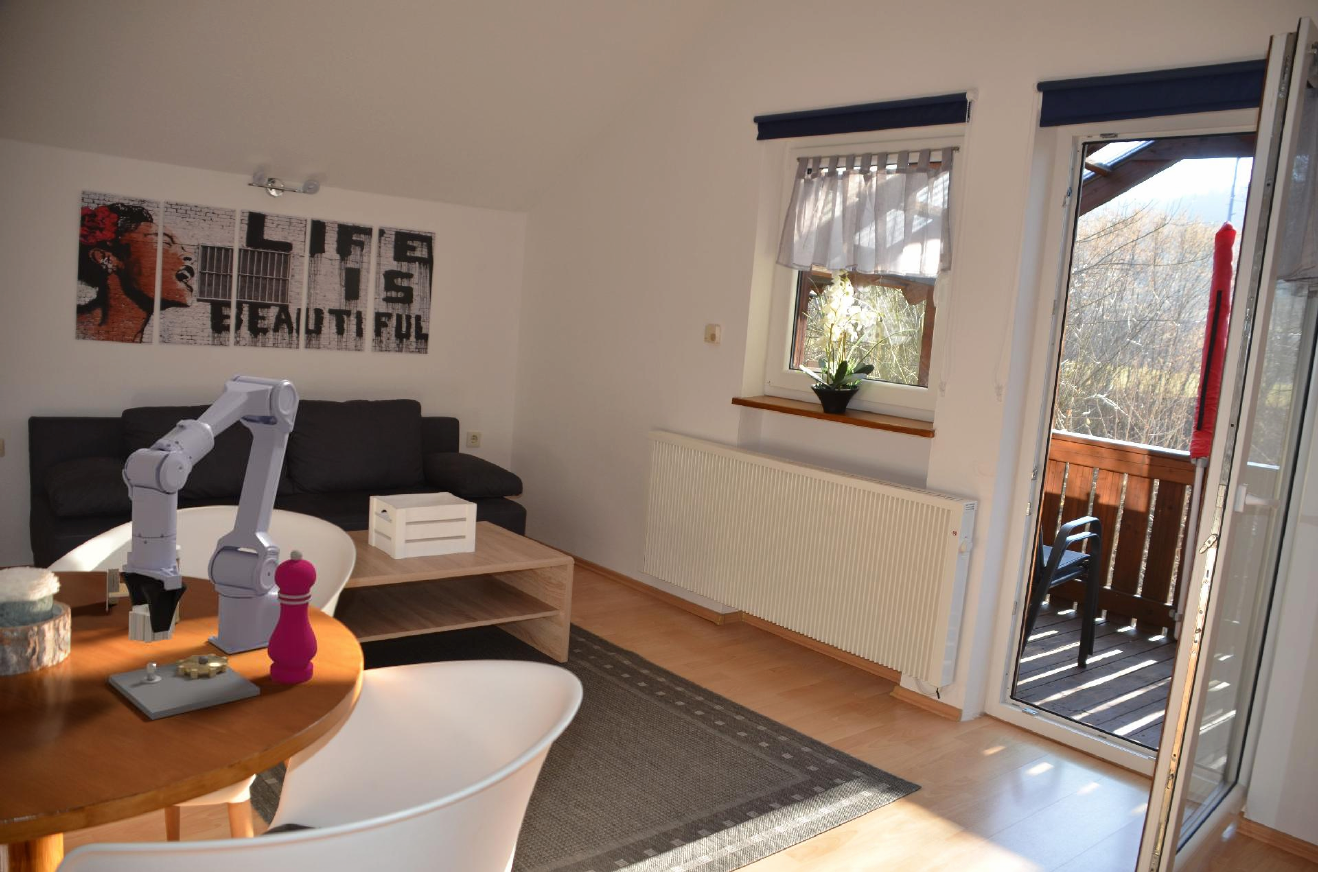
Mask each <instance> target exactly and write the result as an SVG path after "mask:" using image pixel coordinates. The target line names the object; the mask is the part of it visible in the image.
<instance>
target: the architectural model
mask: <svg viewBox="0 0 1318 872" xmlns="http://www.w3.org/2000/svg"><path fill="white" fill-rule="evenodd" d="M120 577H121V574H120V568H114V567H113V568H109V563H107V564H106V602H105V603H106V608H105V611H106V612H108V610H109V605H118V604H119V598H121V597H130V594H129V591H128V589H127V586H126V584H125V582H124V583H120V580H121V579H120Z"/></svg>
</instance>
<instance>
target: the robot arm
mask: <svg viewBox="0 0 1318 872" xmlns="http://www.w3.org/2000/svg"><path fill="white" fill-rule="evenodd" d="M299 402H300V397H299V395H298V392H297V389H296V387H295V385H294V383H293V382H292V381H290V380H288V379H275V378H274V379H273V378H266V377H257V376H249V375H245V374H239V373H238V374H236V375H233V376H232V377H231V378H230V380H228V381H227V382H225V383H224V384H223V389H222V395H220V397H219V398H218V399H216V401H214V403H213V404H212V405H211V406H210V407H209V408H207V410H206V411H205V412H203V413H202V415H200V416H199V417H198V419H196V420H195V419H185V420H184V419H181V420H179V421H178V422H176V426H175V427H174V428H173V429H172V430H170V431H168V433H167V434H166V435H164V436H162V437H161V438H160V439H158V440H157V441H156V442H155V443H153V445H151V446H150V447H149V448H139V449H137V450H136V451H134V452H133V453H130V455H129V456H128V458H127V459H126V461H125V464H124V468H123V469H122V473H121V475H122V479H123V482H124V483H125V485H126V486H127V488H128V489H127V490H128V495H127V496H128V497H129V499H130V500H131V503H132V505H131V507H132V508H131V509H132V511H131V551H127V553H126V554H127V555H126V557H127V558H126V564H123V565H122V566H121V569H122V570H121V571H122V572H120V577H121V579H122V580H123V582H124V583H125V584H126V586H127V589H128V591H129V597H130V600H131V601H130V602H131V606H132V607H133V606H135V605H139V606H140V605H141V606H142V605H145V604H148V607H149V613H150V622H151V628H152V631H153V632H154V633H158V632H164V631H169V629H170V626H171V623H172V620H173V616H174V613H175V610H176V607H177V604H178V602H179V603H180V600H181V598H182V596H183V595H184V593H185V592H186V591H187V587H188V585H187V583H185V582H184V581H182V580H183V579H182V573H180V571H179V572H178V564H177V561H176V545H177V528H178V527H177V525H178V524H177V522H178V521H177V519H178V517H177V516H178V491H179V490H181V489H183V487H184V486H185V484H186V482H187V480H188V477H189V474H190V473H191V472H192V469H193V466H194V465H196V464H197V463H198V462H199V461H200V460H201V459H203V458H204V457H205V456H206V455H207V454H208V453H210V452H211V450H212V449H213V448H214V445H215V439H214V438H215V437H216V436H218V435H219V434H221V433H223V432H224V431H225V430H226V429H228V428H229V427H231V426H232V425H233V424H235V423H236V422H238V421H240V422H241V424H242V425H243V426H245V427H247V428H249V430H250V432H251V434H252V436H253V439H252V444H251V447H250V448H251V449H250V452H249V457H248V462H247V467H246V471H245V476H244V479H243V480H244V481H243V485H242V488H241V489H242V490H241V493H240V498H239V502H238V508H237V511H236V512H237V513H236V517H235V521H234V525H233V529H232V530H231V531H229V532H228V533H226V534H224V535H223V536H221V537H220V538H218V540H217V543H216V546H215V550H214V551H213V554H212V555H211V557H210V559H209V561H208V564H207V575H208V579H209V581H210V583H211V584H212V585H214V591H215V592H218V616H217V618H218V621H217V635H212V636H208V637H207V642H208V641H209V642H210V643H212V644H213V645H214V646H216V647H217V648H218V649H220V650H222V651H223V652H224V653H226V654H228V655H229V654H230V655H231V654H236V653H241V652H245V651H250V650H255V649H260V648H266V647H267V648H268V643H269V640H270V637H271V635H272V633H273V631H274V629H275V627H276V625H277V623H278V621H279V617H280V609H281V608H280V602H279V601H278V600H277V597H278V594H277V592H278V591H279V589H278V588H277V587H275V585H276V583H275V578H274V577H275V571H276V569H277V567H278V566H279V565H280V564H279V563H280V562H279V559H280V557H279V556H280V551H281V549H280V547H279V546H278V544H276V543H275V542H274V540H273V539H272V538H271V537H270V536H269V534H268V533H269V530H270V529H269V528H270V524H271V520H272V515H273V510H274V506H275V500H276V497H277V496H276V495H277V491H278V488H279V482H280V477H281V472H282V468H283V463H284V458H285V454H286V449H287V445H288V439H289V434H290V433H292V432H293V430H294V426H295V421H296V417H297V416H296V415H297V412H298V407H299ZM240 549H248V550H253V551H255V552H252V551H246V550H240Z"/></svg>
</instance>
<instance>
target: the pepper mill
mask: <svg viewBox="0 0 1318 872" xmlns="http://www.w3.org/2000/svg"><path fill="white" fill-rule="evenodd" d="M289 556H290V557H289V558H290V559H287V560H284V561H282V562H281V563H280V564H279V566H278V567H277V569H276V571H275V577H274V578H275V583H276V584H275V585H276V586H277V587H278V588H279V589H278V592H277V594H278V597H277V600H278V601H279V602H280V608H281V609H280V617H279V621H278V623H277V625H276V627H275V629H274V631H273V633H272V635H271V637H270V640H269V643H268V646H267V650H266V651H267V656H268V657H269V659H270V660H271V661H272V663H271V664H270V666H269V678H270V679H271V680H273V681H274V682H276V683H281V684H298V683H303V682H306V681H308V680H310V679H311V678H312V677H313V675H314V663H313V662H312V660H313V659H314V657H315V656H316V655H317V653H318V641H317V637H316V634H315V632H314V630H313V628H312V625H311V623H310V620H309V619H310V618H309V603H310V602H311V601H312V600H313V596H312V595H313V590H312V589H311V588H312V587H313V586H314V585H315V583H316V580H317V571H316V568H315V566H314V565H313V564H312V563H311V562H310V561H308V560H306V559H304V558H303V551H301V550H300V549H293V550H292V551H291V552H290V555H289Z"/></svg>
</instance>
